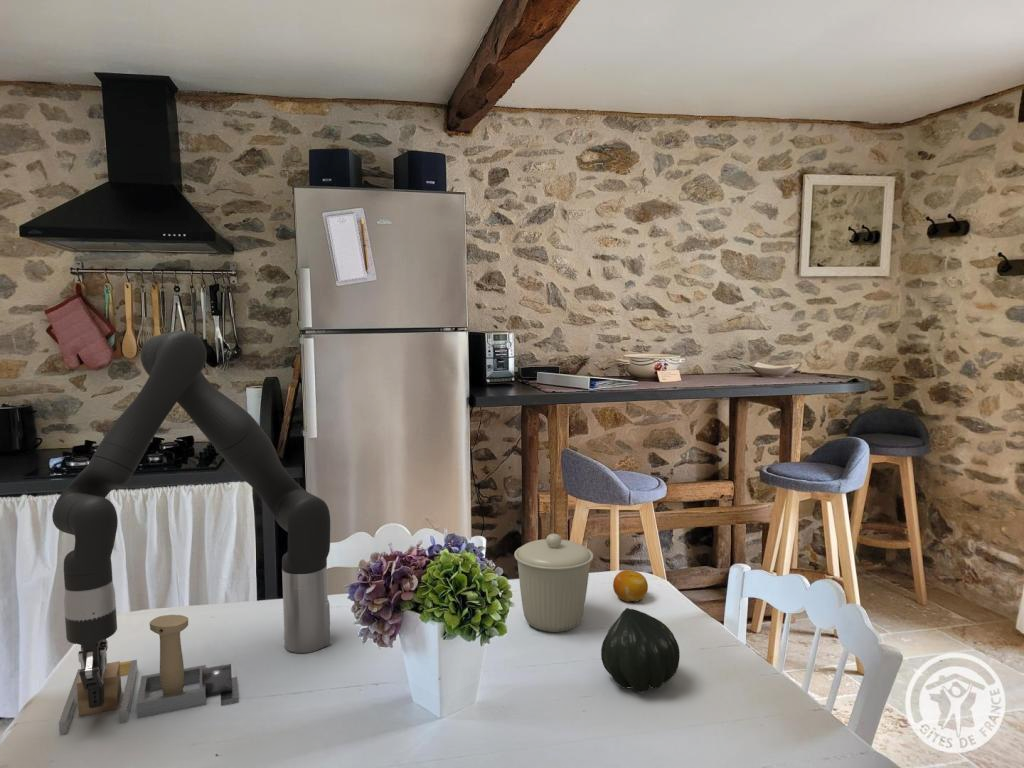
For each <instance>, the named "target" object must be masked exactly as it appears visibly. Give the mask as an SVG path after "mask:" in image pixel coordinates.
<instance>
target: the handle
mask: <svg viewBox="0 0 1024 768" xmlns="http://www.w3.org/2000/svg"><path fill="white" fill-rule="evenodd" d="M188 626H189V617H187V616H185V615H183V614H182V615H181V614H166V615H159V616H158V617H155V618H153V619H151V620H150V622H149V630H150V631H152V632H153V633H154V634H157V635H158V636H159V673H160V681H161V687H162V689H161V690H162V696H164V695H169V694H175V693H180V692H184V686H185V685H184V669H185V666H184V665H185V664H184V658H183V657H184V656H183V650H182V641H181V632H183V631H184V630H185V629H187V627H188Z"/></svg>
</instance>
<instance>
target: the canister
mask: <svg viewBox="0 0 1024 768" xmlns="http://www.w3.org/2000/svg"><path fill="white" fill-rule="evenodd" d="M514 558H515V560H516V561H517V570H518V579H519V589H520V598H521V605H522V611H523V616H524V619H525V621H526V622H527V623H528V624H529V625H530V626H531V627H532V628H535V629H537V630H539V631H543V632H549V633H551V632H552V633H555V632H557V633H559V632H566V631H570V630H572V629H574V628H576V627H577V626H578V625H579V623H581V621H582V618H583V615H584V613H585V611H584V610H585V605H586V597H587V591H588V590H587V589H588V581H589V577H590V575H589V573H590V568H591V567H590V565H591V562H592V561H593V560H594V554H593V551H591V549H589V548H587V547H586V546H584V545H582V544H580V543H578V542H575V541H573V540H568V539H562V537H561V536H560V535H559V534H558V533H550V534H548V535H547V536H546V538H544V539H543V538H541V539H536V540H533V541H529V542H527V543H525V544H523V545H522V546H520V547H518V548H517V549H516V550H515V551H514Z"/></svg>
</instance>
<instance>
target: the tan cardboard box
mask: <svg viewBox="0 0 1024 768" xmlns="http://www.w3.org/2000/svg"><path fill="white" fill-rule="evenodd" d="M104 676H105V679H104V683H103V684H104V703H103V705H102V706H101V707H96V708H89V702H88V690H84V687H83V684H82V680H81V677H80V675H79V678H78V681H77V696H78V702H77V707H78V708H77V709H78V710H77V711H78V712H77V713H78V716H86V715H91V714H96V713H102V712H106V711H112V710H117V709H119V705H120V701H121V697H122V680H121V679H122V676H121V675H120V660H119V661H112V662H107V665H106V671H105V673H104Z"/></svg>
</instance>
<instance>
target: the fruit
mask: <svg viewBox="0 0 1024 768" xmlns="http://www.w3.org/2000/svg"><path fill="white" fill-rule="evenodd" d="M613 578H614V579H613V583H612V587H613V591H614V594H615V595H617V597H618V598H619V599H620V600H622V601H625V602H629V601H634V602H639V601H641V600H642V599H643V598H644V597H645V596H646V595H647V592H648V590H649V585H648V580H647V579H646V577H645V576H644V575H643V574H642V573H641V572H638V571H635V570H631V569H630V570H629V569H626V570H625V569H624V570H621V571H619V572H618V573H617V574H616V575H615V577H613ZM638 600H639V601H638Z"/></svg>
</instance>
